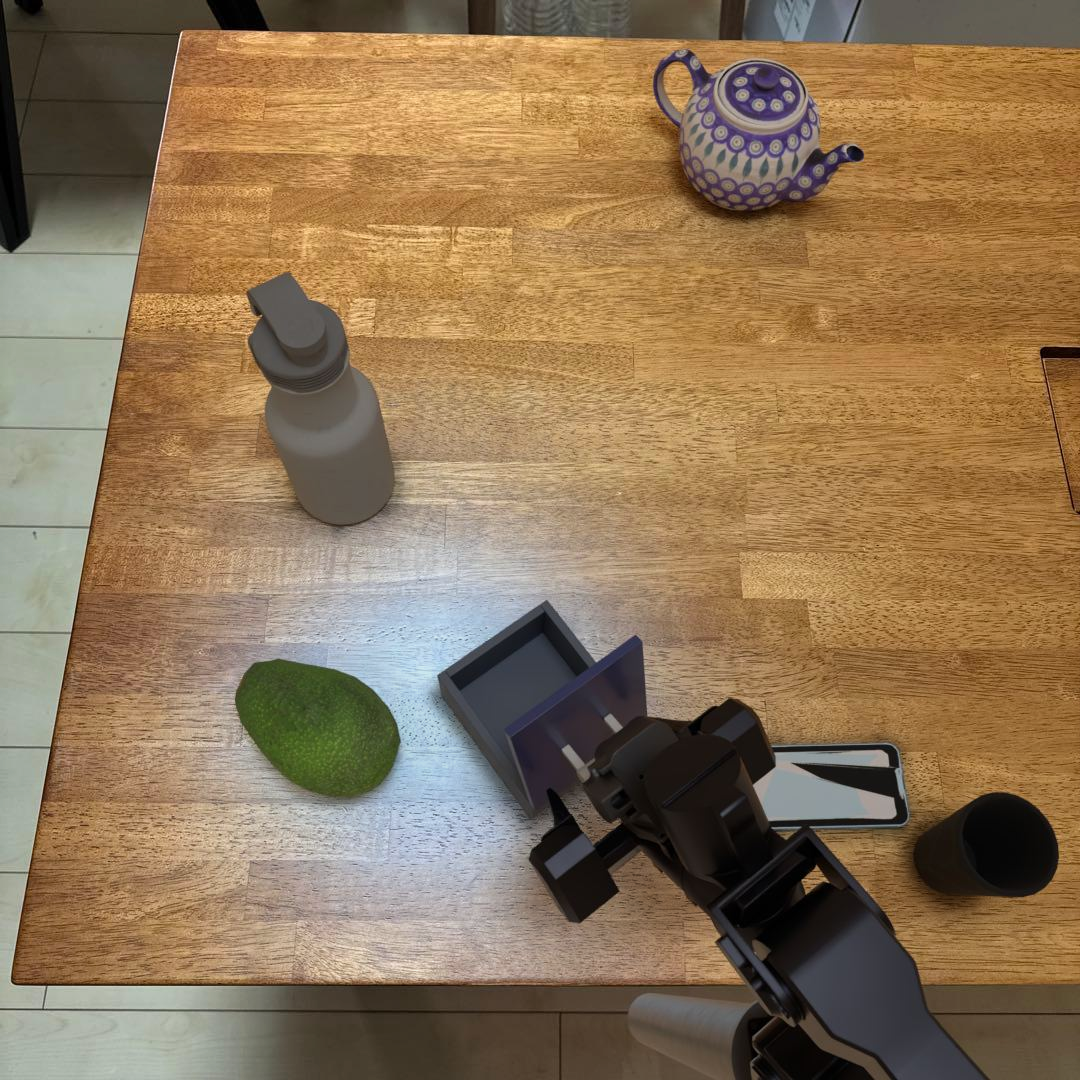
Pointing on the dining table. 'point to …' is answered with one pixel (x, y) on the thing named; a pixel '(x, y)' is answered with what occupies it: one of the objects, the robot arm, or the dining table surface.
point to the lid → (578, 722)
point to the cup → (989, 849)
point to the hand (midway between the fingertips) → (598, 756)
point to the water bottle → (319, 406)
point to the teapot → (750, 134)
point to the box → (513, 686)
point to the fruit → (318, 726)
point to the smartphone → (835, 787)
